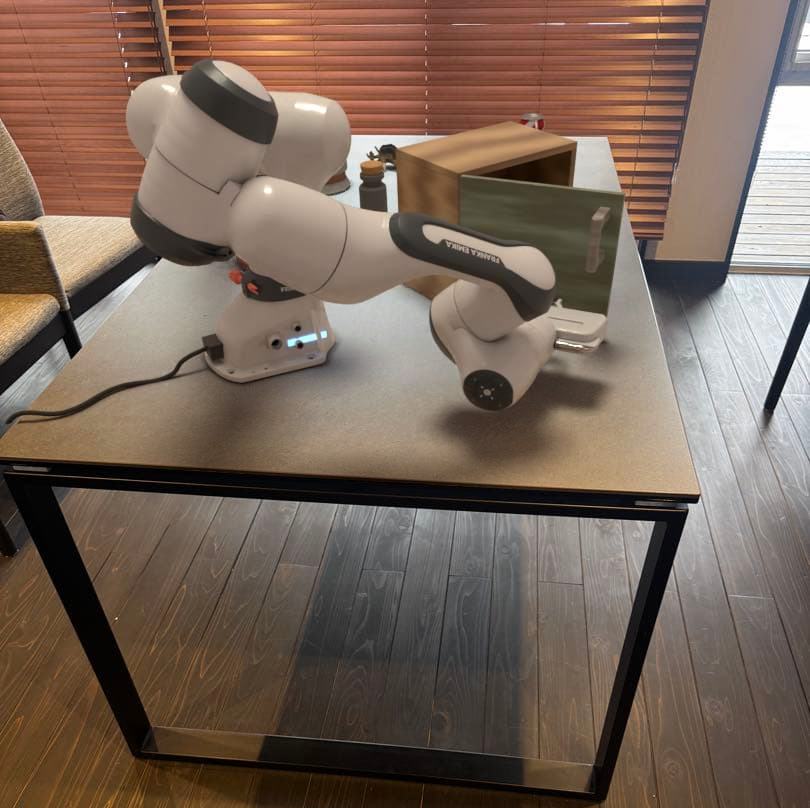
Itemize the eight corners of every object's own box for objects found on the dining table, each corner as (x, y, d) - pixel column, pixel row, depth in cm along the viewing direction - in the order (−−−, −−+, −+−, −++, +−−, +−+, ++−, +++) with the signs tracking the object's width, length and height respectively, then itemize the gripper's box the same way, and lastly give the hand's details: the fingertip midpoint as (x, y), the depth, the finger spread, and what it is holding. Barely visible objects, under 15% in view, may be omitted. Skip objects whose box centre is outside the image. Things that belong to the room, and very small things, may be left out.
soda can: (511, 165, 207) (513, 115, 199) (533, 161, 209) (536, 111, 201) (524, 172, 202) (528, 121, 194) (547, 168, 204) (551, 117, 196)
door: (593, 357, 130) (614, 207, 114) (445, 330, 139) (446, 187, 123) (604, 339, 135) (625, 192, 119) (460, 314, 144) (462, 174, 128)
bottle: (385, 242, 171) (381, 168, 161) (359, 240, 172) (354, 167, 162) (391, 231, 175) (388, 159, 165) (365, 230, 176) (360, 158, 166)
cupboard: (563, 276, 155) (577, 141, 138) (456, 314, 144) (458, 173, 128) (503, 248, 166) (510, 120, 150) (400, 282, 155) (395, 148, 139)
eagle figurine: (367, 170, 204) (400, 163, 201) (364, 141, 203) (398, 134, 201) (376, 178, 211) (408, 172, 209) (373, 150, 210) (406, 144, 208)
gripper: (597, 333, 111) (621, 293, 121) (462, 309, 118) (494, 273, 128) (591, 372, 116) (615, 331, 125) (461, 347, 122) (493, 310, 132)
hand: (553, 302), depth 126 cm, fingers closed
